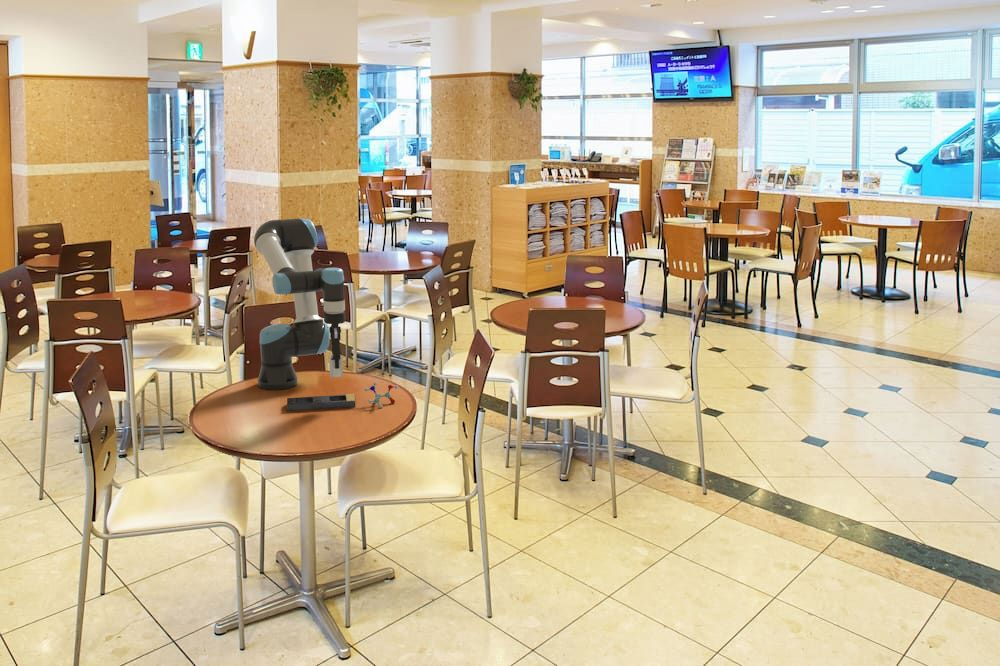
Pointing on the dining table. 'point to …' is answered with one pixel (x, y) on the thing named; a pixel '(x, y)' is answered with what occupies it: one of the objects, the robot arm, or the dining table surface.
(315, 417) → the dining table surface
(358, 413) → the dining table surface
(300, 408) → the grey slotted frame
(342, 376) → the light grey rectangular block
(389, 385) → the molecular model
